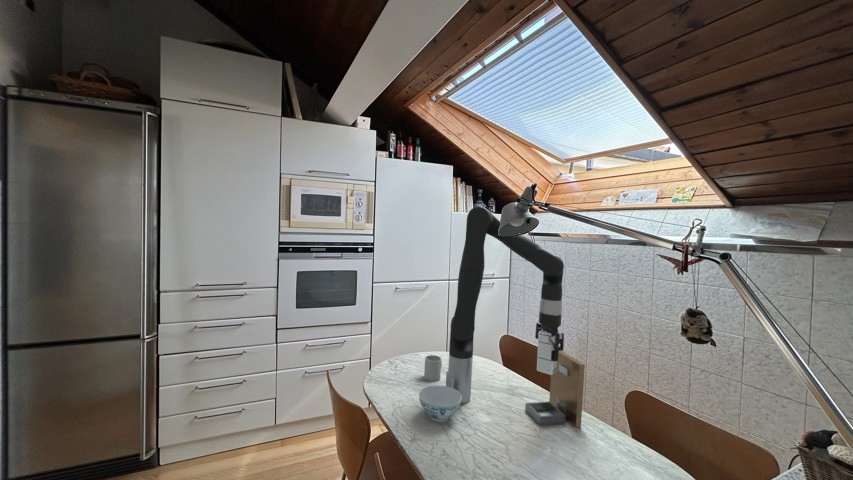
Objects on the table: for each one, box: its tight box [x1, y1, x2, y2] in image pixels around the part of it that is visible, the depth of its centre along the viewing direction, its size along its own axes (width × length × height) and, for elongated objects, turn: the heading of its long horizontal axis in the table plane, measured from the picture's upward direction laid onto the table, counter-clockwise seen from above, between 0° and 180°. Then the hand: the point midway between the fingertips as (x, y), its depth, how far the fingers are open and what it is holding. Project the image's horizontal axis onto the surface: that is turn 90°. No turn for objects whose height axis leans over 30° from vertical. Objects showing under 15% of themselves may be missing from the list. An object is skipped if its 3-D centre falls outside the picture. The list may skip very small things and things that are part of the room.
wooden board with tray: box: [524, 351, 586, 429], centre depth 123 cm, size 14×16×22 cm
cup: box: [423, 354, 443, 382], centre depth 152 cm, size 7×10×9 cm
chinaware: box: [418, 385, 462, 423], centre depth 119 cm, size 15×15×8 cm
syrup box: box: [536, 330, 560, 376], centre depth 122 cm, size 6×6×14 cm
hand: (547, 356), depth 122 cm, fingers closed on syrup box, 8 cm apart
